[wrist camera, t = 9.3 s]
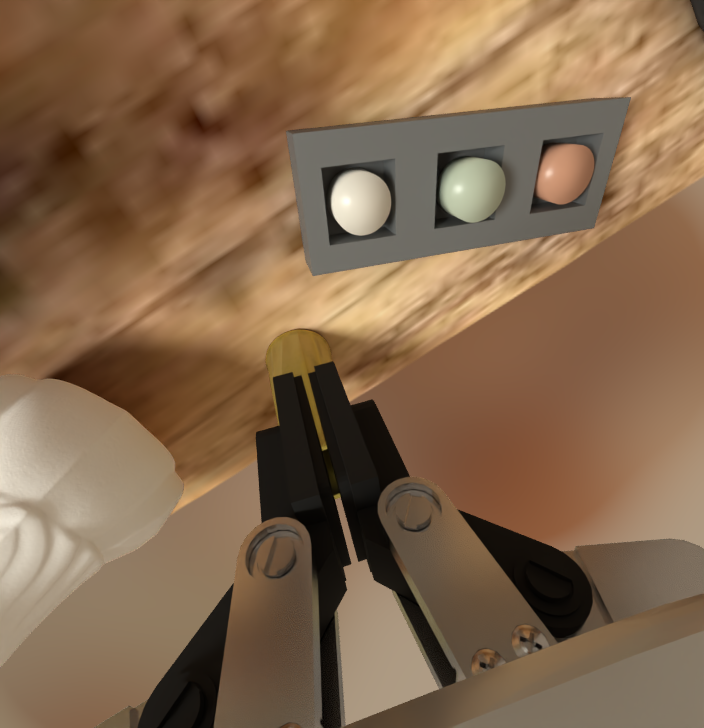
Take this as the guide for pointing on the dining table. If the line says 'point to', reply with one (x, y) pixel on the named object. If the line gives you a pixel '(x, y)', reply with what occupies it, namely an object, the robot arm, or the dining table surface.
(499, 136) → the button panel
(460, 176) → the sage button
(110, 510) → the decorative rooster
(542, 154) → the terracotta button
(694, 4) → the casserole
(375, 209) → the cream rounded piece
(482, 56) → the dining table surface
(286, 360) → the vase
